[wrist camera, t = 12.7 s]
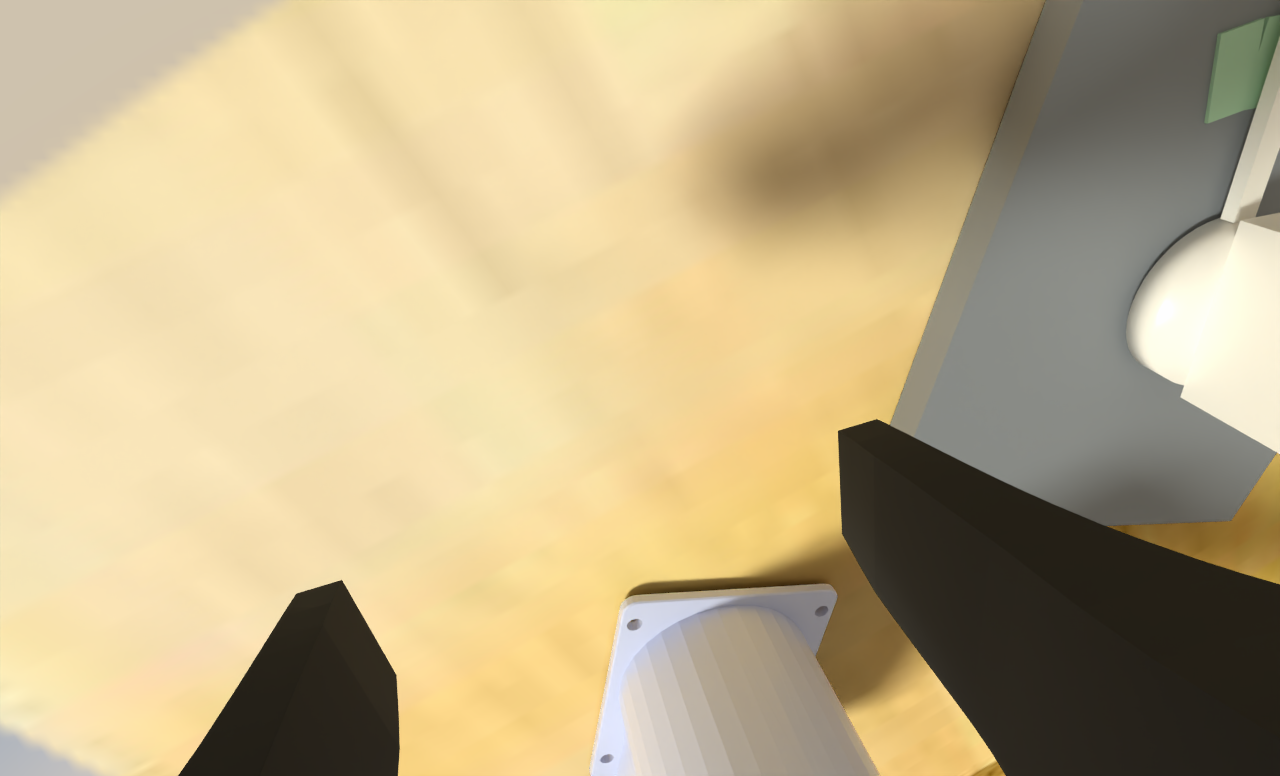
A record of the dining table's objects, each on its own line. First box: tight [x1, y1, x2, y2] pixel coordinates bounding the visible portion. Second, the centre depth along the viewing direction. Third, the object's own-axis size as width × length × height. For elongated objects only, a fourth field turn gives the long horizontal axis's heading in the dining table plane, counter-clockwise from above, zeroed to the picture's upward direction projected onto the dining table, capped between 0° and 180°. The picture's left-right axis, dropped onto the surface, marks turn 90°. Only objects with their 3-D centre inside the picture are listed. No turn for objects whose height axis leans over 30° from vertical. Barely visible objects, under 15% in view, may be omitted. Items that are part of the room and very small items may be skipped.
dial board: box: [890, 0, 1280, 526], centre depth 22 cm, size 18×16×1 cm
